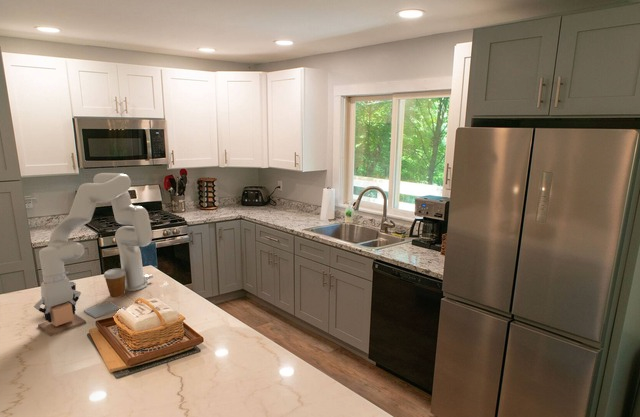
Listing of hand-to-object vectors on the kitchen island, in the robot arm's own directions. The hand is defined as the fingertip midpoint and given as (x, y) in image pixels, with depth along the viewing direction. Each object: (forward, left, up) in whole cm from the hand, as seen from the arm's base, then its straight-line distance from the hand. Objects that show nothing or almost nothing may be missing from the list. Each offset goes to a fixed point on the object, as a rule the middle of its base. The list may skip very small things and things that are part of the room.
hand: (61, 317), depth 161 cm
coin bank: (0, 0, -2) cm, 2 cm away
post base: (0, 0, -3) cm, 3 cm away
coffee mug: (-10, -19, -4) cm, 22 cm away
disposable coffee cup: (-28, -11, -4) cm, 30 cm away
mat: (-16, 0, -3) cm, 16 cm away
